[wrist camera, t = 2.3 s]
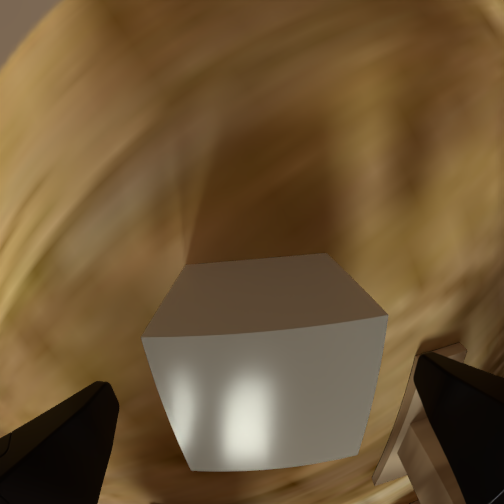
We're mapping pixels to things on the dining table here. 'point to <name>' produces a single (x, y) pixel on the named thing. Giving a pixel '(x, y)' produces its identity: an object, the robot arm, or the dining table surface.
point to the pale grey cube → (266, 362)
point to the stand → (420, 447)
